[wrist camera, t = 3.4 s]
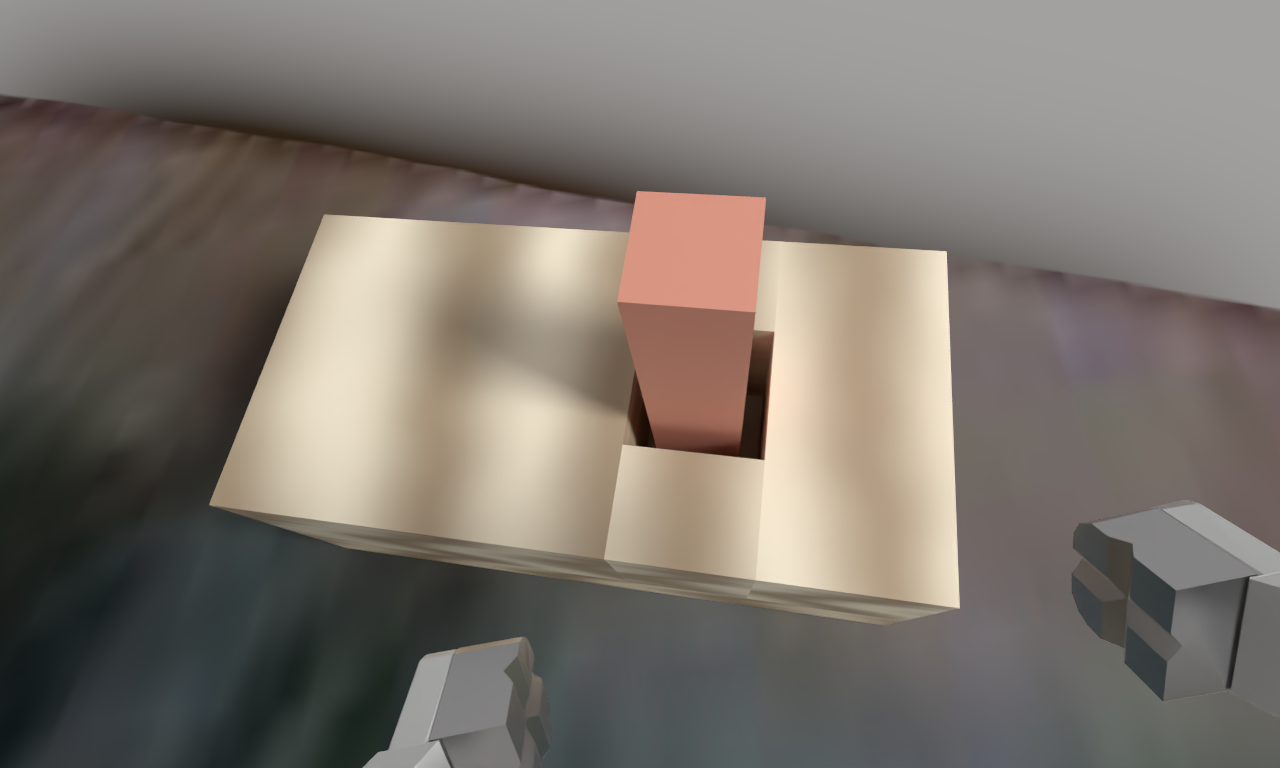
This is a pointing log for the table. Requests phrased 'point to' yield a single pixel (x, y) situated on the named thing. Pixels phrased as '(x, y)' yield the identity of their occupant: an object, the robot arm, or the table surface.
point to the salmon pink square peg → (692, 314)
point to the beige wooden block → (608, 421)
